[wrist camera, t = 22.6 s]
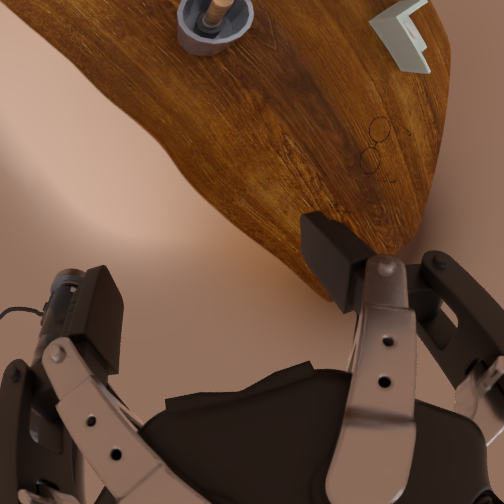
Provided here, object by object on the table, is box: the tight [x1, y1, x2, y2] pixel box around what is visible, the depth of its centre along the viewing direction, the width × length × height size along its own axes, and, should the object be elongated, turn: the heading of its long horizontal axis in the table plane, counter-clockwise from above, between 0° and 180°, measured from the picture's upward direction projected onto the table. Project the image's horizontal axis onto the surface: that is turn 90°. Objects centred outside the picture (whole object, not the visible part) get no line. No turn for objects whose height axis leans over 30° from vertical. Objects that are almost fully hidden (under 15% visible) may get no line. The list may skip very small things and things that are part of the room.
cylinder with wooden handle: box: [194, 0, 234, 39], centre depth 22 cm, size 4×4×14 cm
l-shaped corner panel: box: [368, 0, 431, 74], centre depth 30 cm, size 12×12×8 cm
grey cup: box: [176, 0, 254, 56], centre depth 24 cm, size 8×8×10 cm
